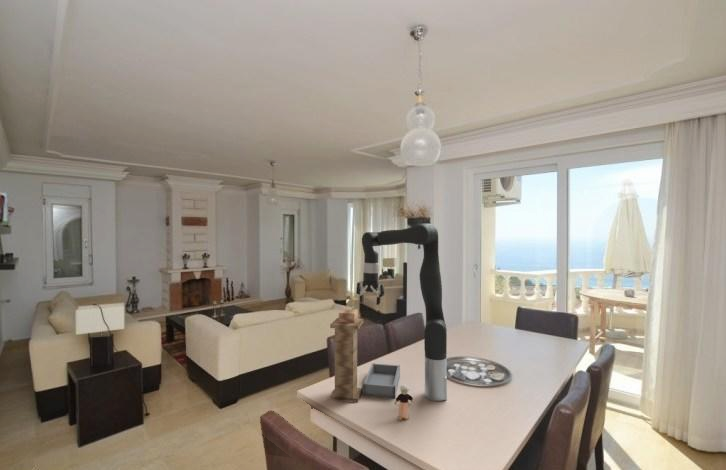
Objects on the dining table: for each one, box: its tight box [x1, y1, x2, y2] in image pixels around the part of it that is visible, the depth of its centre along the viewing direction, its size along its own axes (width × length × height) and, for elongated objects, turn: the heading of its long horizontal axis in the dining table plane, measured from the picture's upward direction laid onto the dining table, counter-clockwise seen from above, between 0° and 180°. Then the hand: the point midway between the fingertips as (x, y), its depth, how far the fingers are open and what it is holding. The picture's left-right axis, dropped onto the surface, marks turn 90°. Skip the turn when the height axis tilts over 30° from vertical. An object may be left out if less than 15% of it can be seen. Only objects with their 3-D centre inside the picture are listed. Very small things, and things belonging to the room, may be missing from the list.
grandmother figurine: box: [393, 384, 415, 421], centre depth 129 cm, size 8×4×13 cm, turn 105°
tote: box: [362, 362, 401, 399], centre depth 157 cm, size 14×24×5 cm, turn 169°
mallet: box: [338, 308, 359, 323], centre depth 154 cm, size 7×16×4 cm, turn 169°
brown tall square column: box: [329, 317, 364, 403], centre depth 147 cm, size 12×12×32 cm
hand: (369, 303), depth 169 cm, fingers open, 8 cm apart
